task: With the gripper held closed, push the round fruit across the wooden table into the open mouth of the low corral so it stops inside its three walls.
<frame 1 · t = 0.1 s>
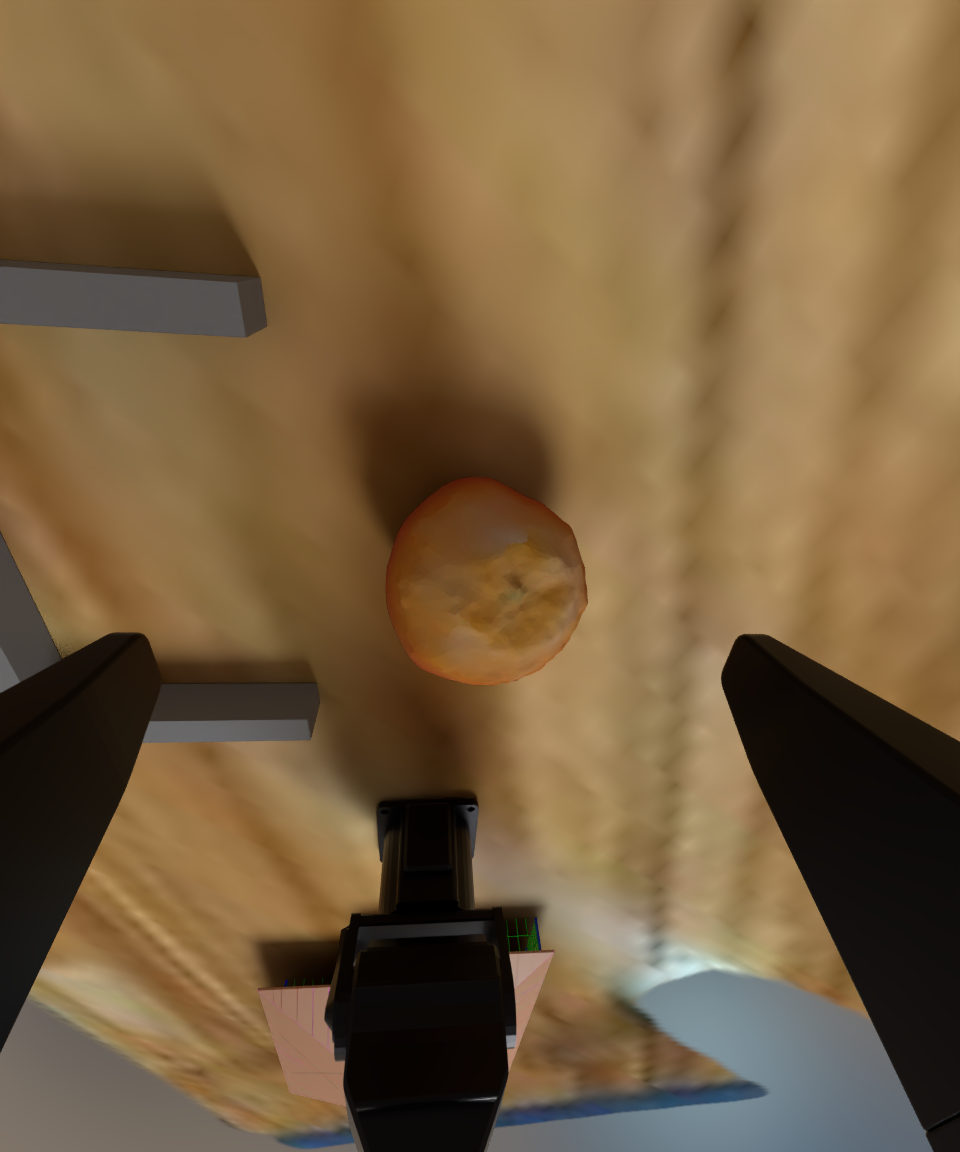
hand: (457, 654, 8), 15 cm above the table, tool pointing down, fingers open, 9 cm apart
corral: (153, 537, 22), on the table
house: (404, 992, 51), on the table
fruit: (477, 541, 24), on the table
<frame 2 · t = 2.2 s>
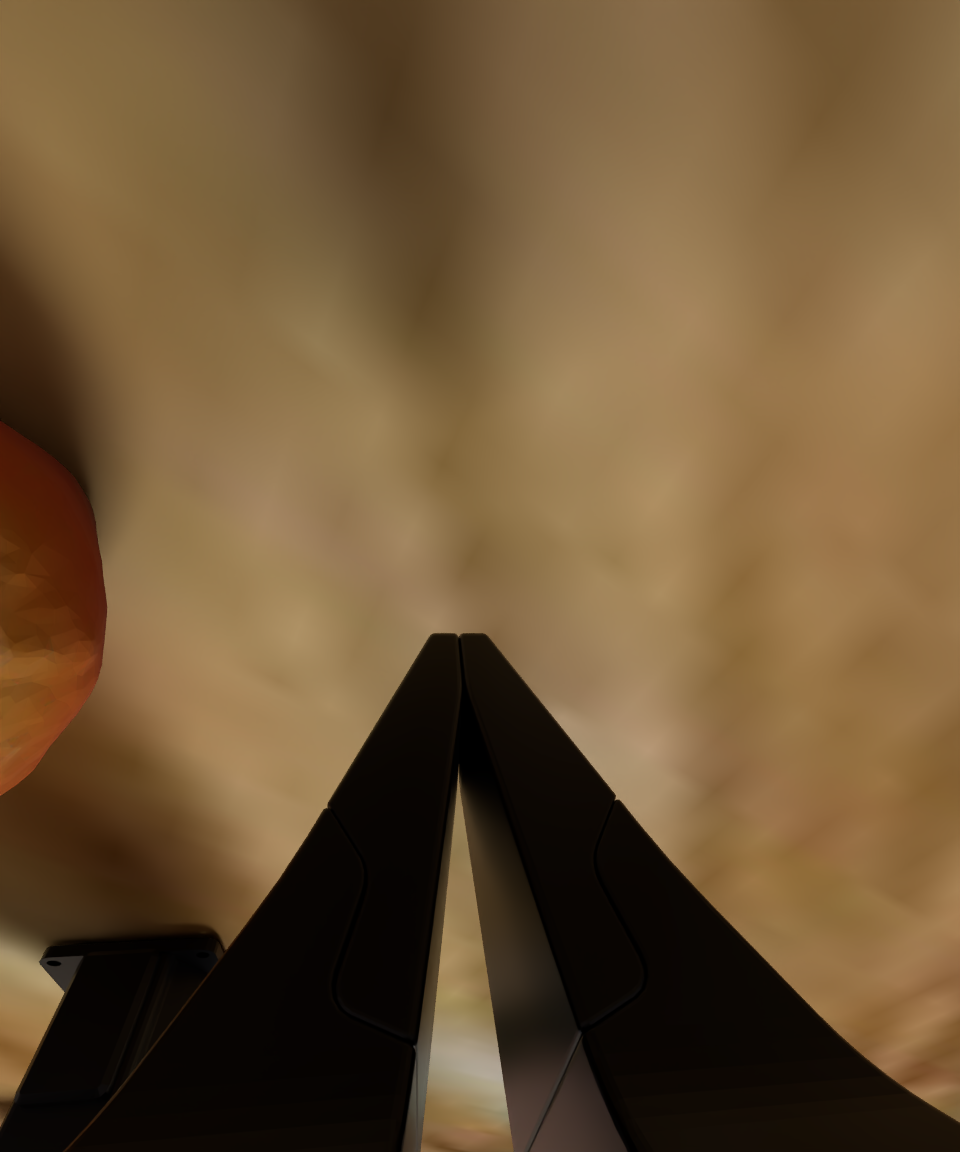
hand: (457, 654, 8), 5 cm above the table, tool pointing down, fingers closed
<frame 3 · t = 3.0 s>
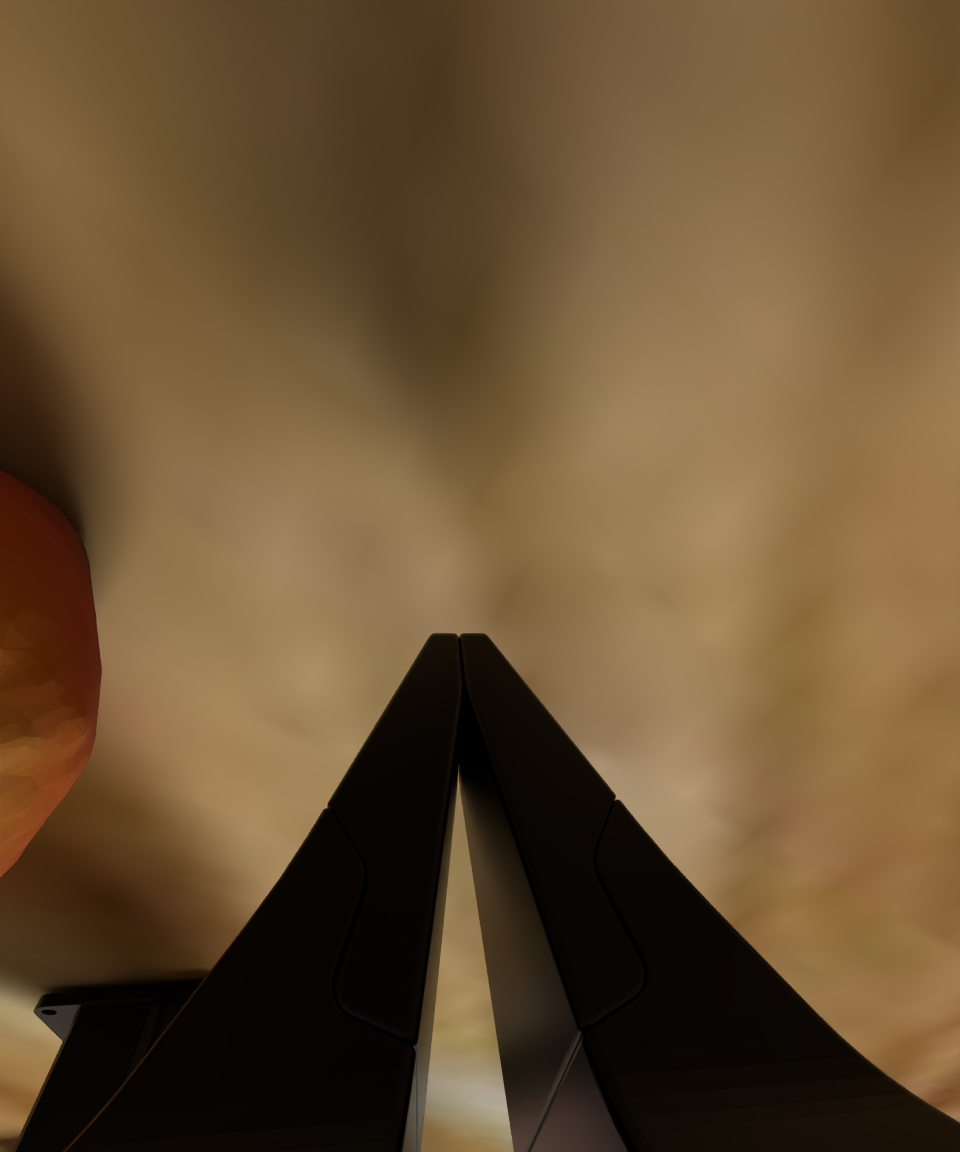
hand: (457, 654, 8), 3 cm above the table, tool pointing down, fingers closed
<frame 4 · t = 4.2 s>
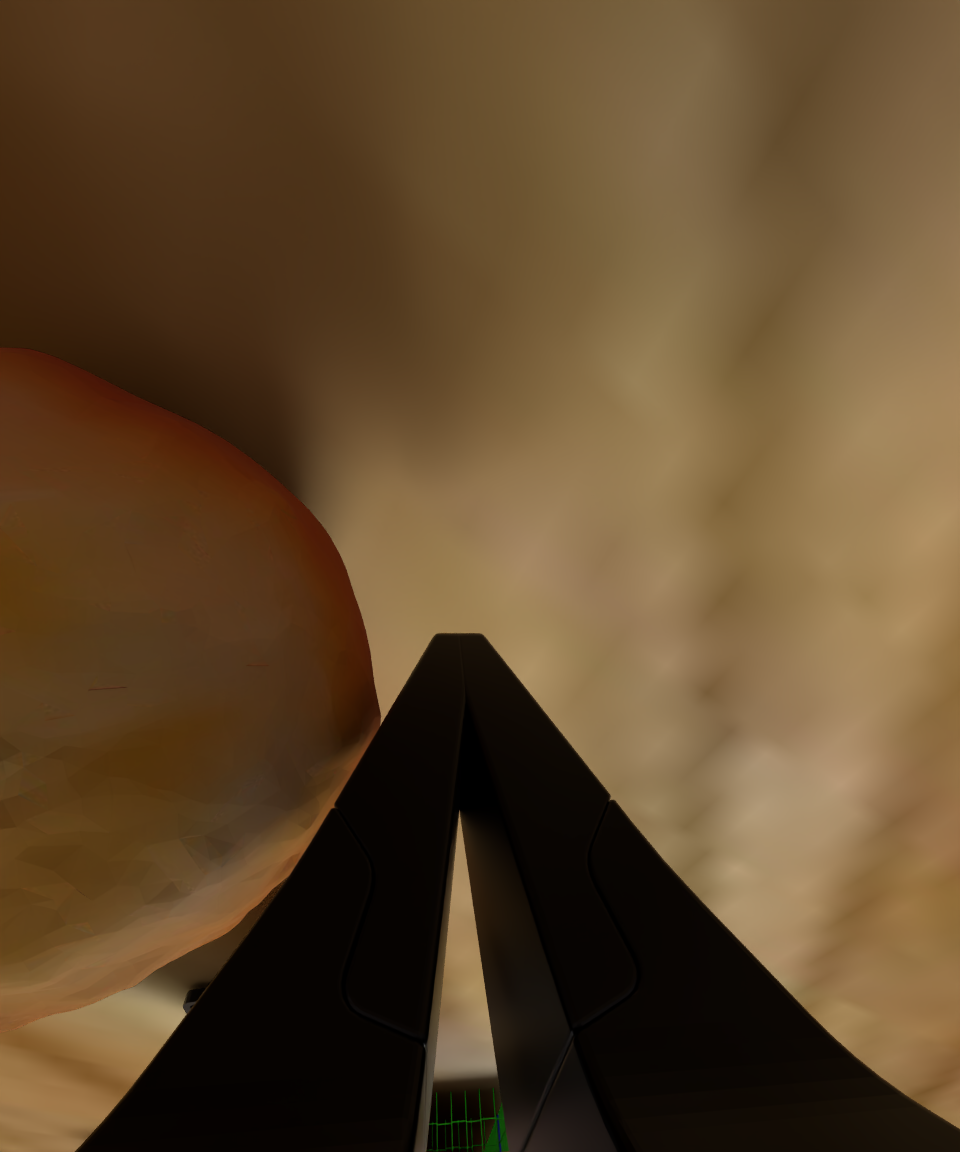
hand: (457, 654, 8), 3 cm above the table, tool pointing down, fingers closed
fruit: (177, 547, 10), on the table, touching gripper
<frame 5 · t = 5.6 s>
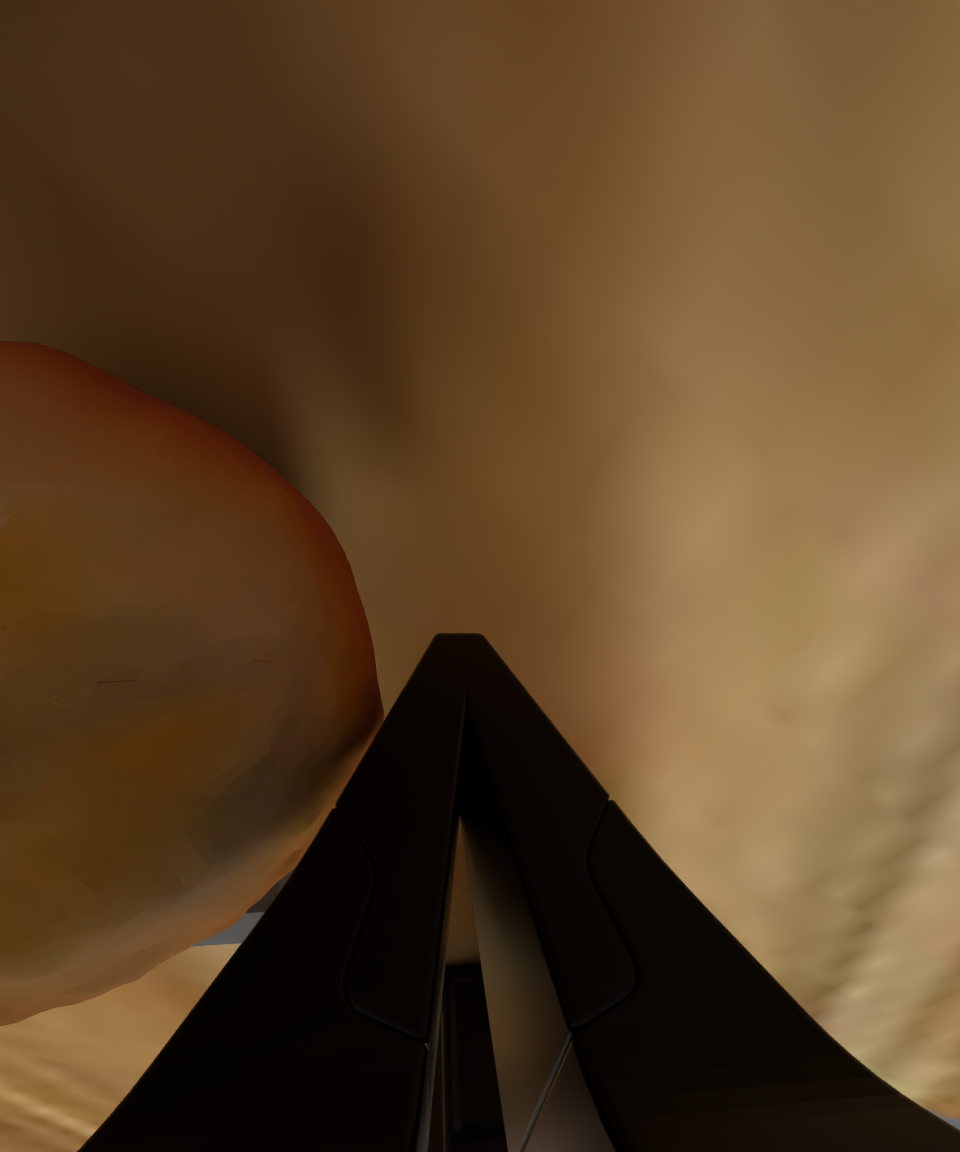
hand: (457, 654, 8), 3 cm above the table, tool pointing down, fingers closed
fruit: (180, 543, 10), on the table, touching gripper
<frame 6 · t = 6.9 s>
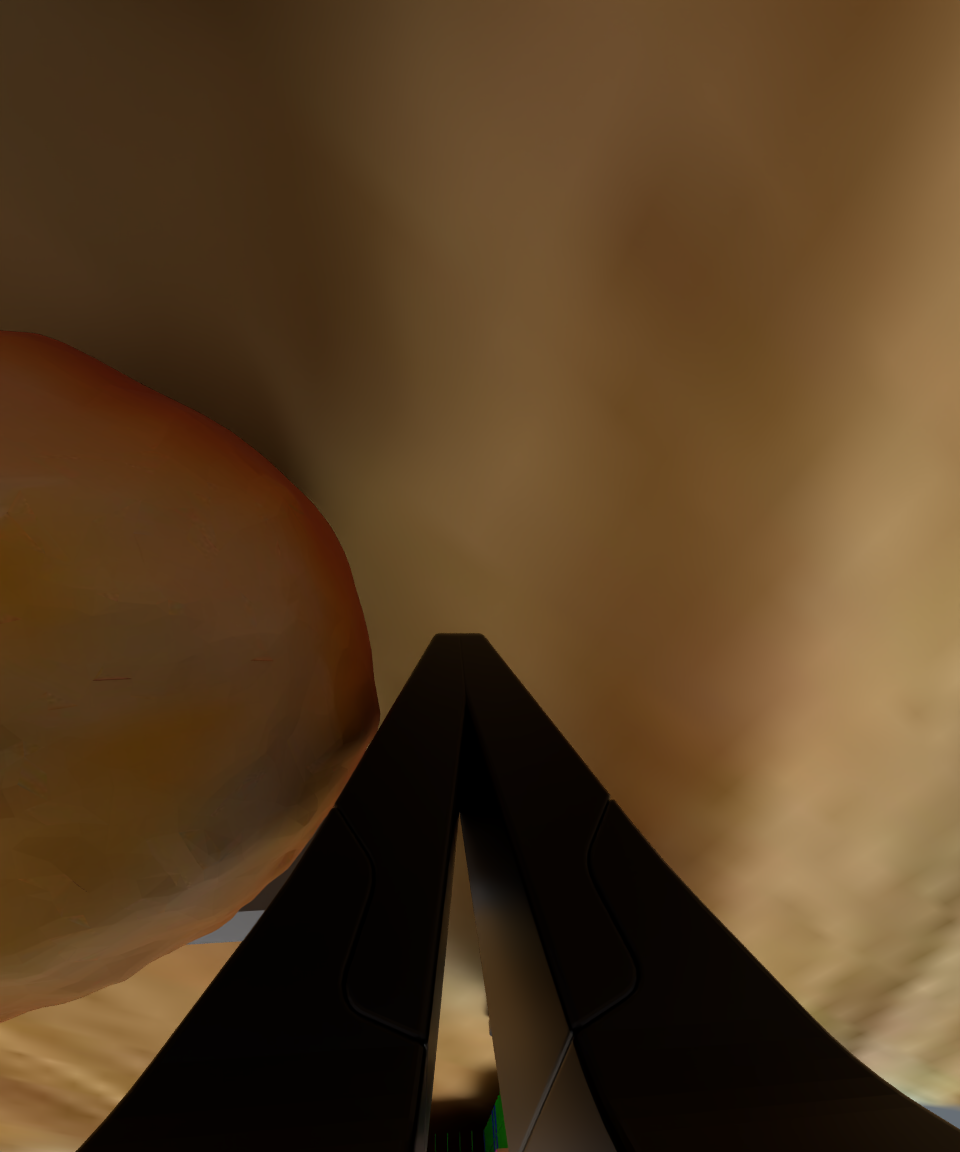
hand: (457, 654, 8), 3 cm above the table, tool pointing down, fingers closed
corral: (124, 550, 10), on the table
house: (508, 1136, 39), on the table
fruit: (176, 538, 10), on the table, touching gripper
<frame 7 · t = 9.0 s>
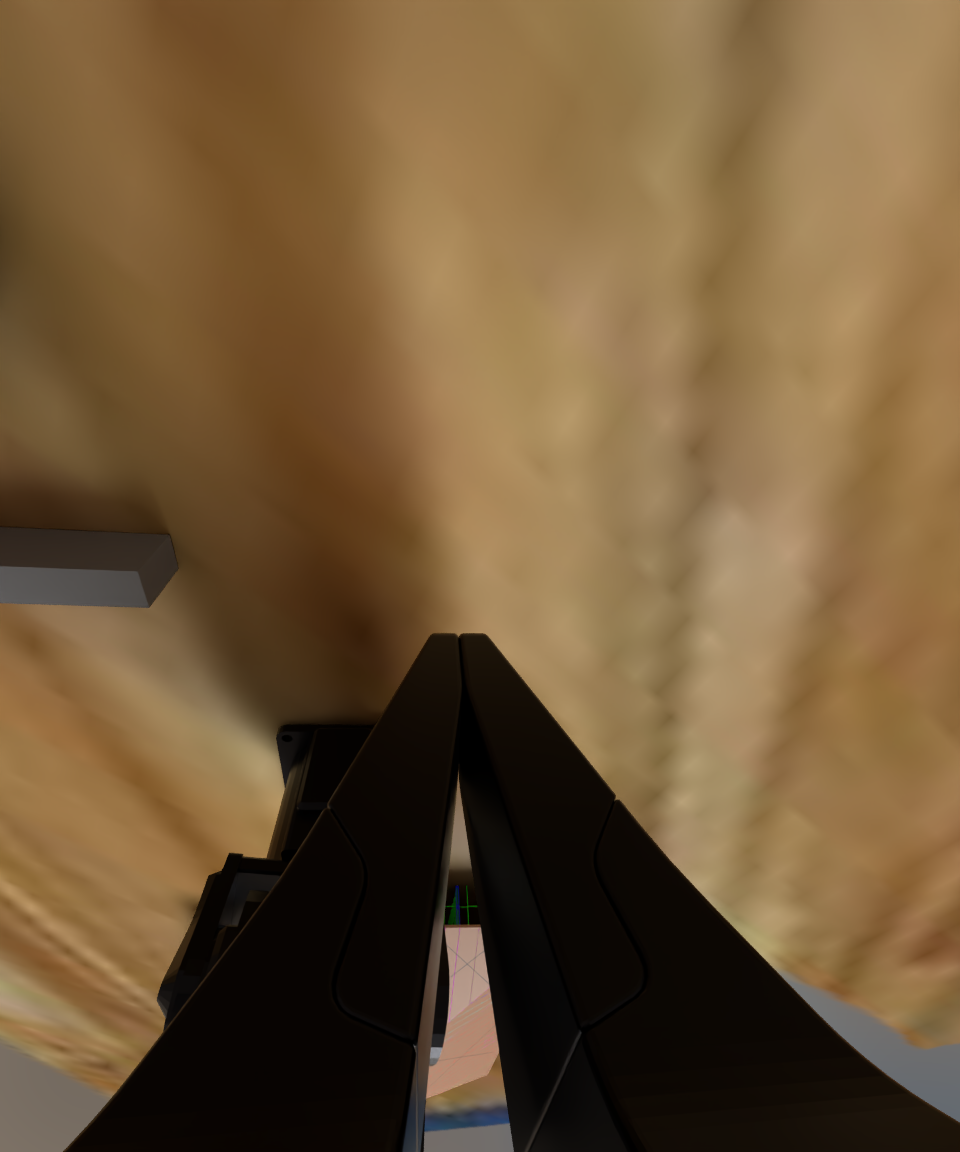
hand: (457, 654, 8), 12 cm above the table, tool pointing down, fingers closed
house: (374, 973, 43), on the table
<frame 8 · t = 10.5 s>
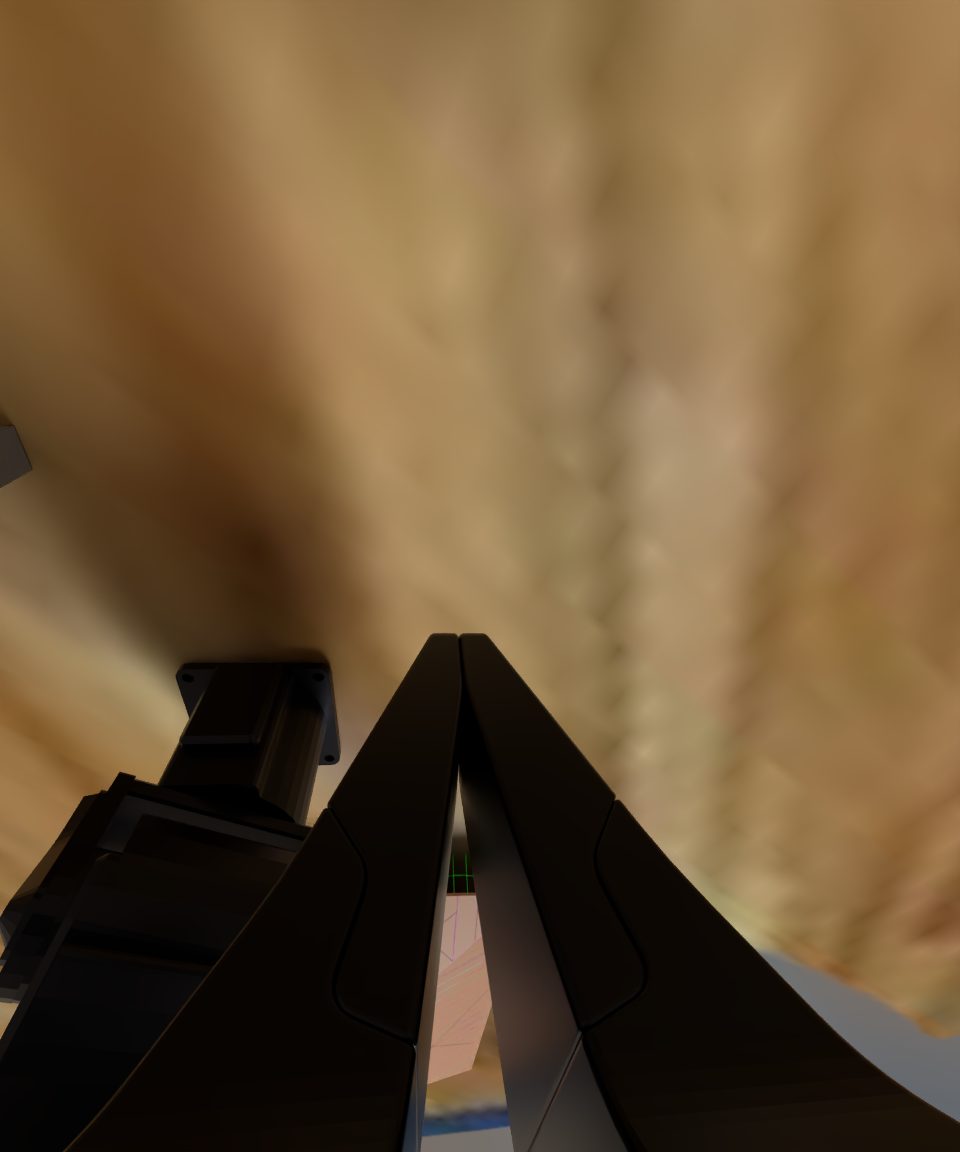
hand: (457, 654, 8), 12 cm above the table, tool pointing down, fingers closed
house: (341, 959, 41), on the table
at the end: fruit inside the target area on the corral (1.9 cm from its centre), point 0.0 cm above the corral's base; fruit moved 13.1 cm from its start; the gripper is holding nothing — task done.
